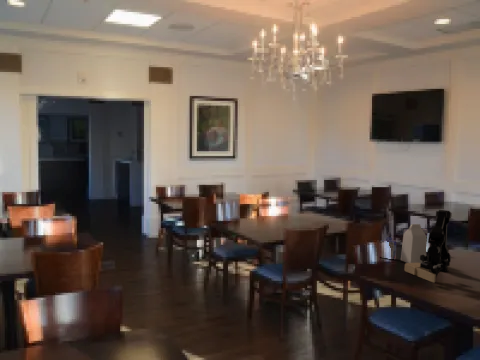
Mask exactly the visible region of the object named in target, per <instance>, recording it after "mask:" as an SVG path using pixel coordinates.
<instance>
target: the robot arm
mask: <svg viewBox="0 0 480 360" xmlns="http://www.w3.org/2000/svg"><path fill="white" fill-rule="evenodd" d="M435 217H436V220H435V225H434V227H432V229H431V230H430V232H429V235H428V238H427V244H430V246H429V247H428V248H427V255H426V256H425V255H420V260H421V261H422V263H421V264H420V267H422V268H425V269H429V270H430V272H431V273H433V274H436V277H435V279H436V278H437V276H439V273H440V272H450V270H449V269H448V267H449V266H450V265H451V264H450V263H451V253H450V251H449V250H450V249H449V247H448V246H447V238H448V237H447V235H448V224H449V223H450V221H451V219H452V217H453V216H452V212H451V211H450V210H445V209H439V210H436V211H435ZM424 261H426V262H424Z"/></svg>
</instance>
